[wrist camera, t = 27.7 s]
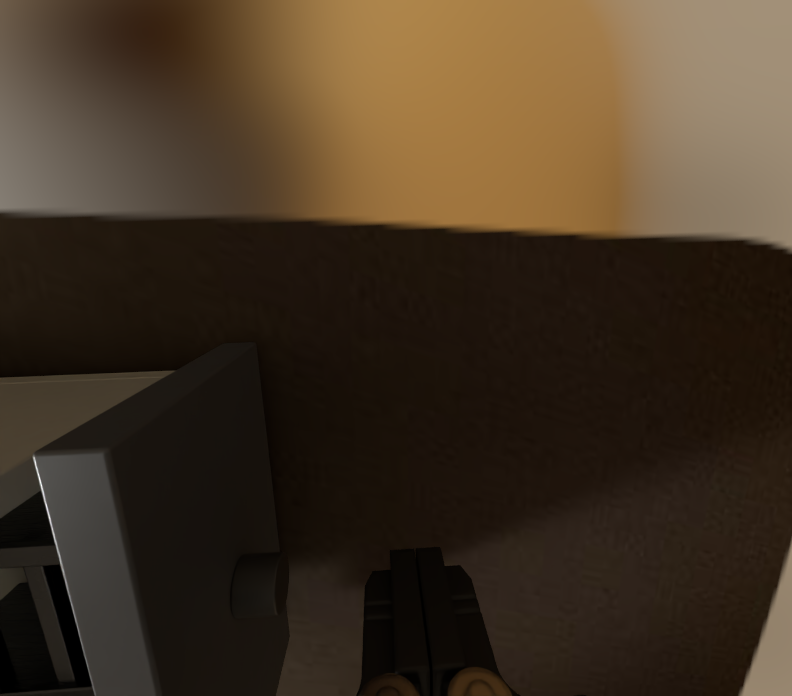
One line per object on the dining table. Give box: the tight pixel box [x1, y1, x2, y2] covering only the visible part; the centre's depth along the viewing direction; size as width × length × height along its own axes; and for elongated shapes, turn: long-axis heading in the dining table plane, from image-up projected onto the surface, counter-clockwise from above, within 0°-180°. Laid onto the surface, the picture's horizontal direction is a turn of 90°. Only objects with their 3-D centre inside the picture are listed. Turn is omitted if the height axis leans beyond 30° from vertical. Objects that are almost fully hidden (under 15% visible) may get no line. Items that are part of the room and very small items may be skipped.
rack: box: [0, 491, 95, 696], centre depth 12 cm, size 5×7×4 cm
